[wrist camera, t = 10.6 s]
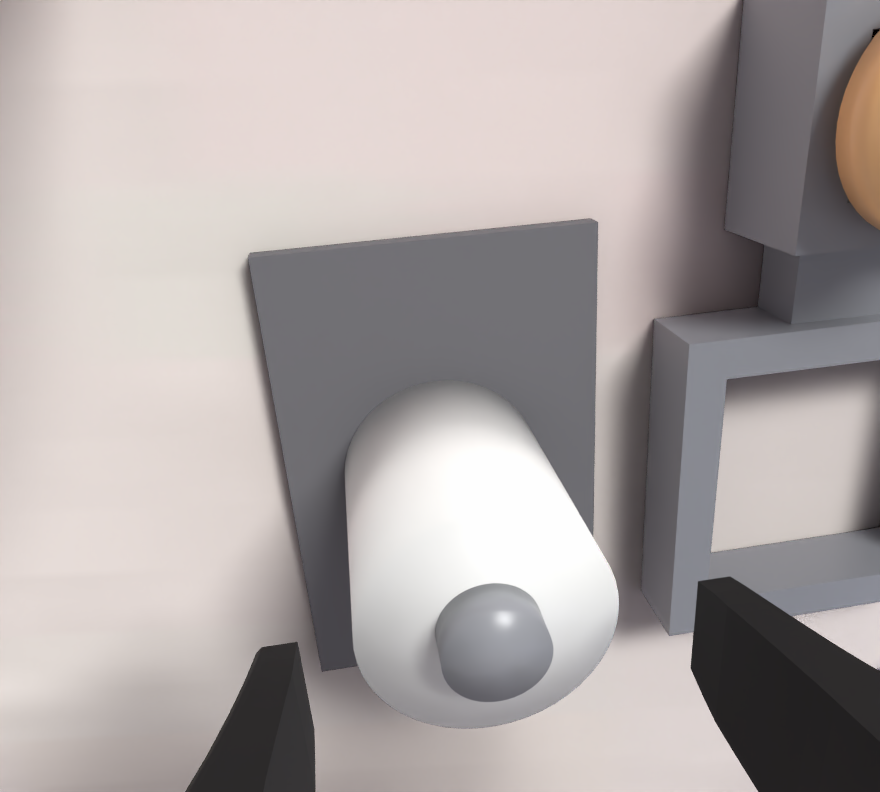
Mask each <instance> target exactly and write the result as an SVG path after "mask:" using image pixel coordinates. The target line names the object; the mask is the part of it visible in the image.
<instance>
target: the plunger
mask: <svg viewBox="0 0 880 792" xmlns="http://www.w3.org/2000/svg"><path fill="white" fill-rule="evenodd" d="M835 144H836V161H837V167H838V173H839V177H840V180H841V183H842V186H843V189H844V191H845V193H846V195H847V197H848V199H849V201H850V203H851V204H852V205H853V207H854V208H855V210H856V211H857V212H858V213H859V214H860V215H861V216H862V217H863V218H864V219H865V220H866V221H867V222H868V223H870V224H871V225H872V226H874V227H875V228H877V229H879V230H880V31H879V32H878V33H877V34H876V35H875V36H874V38H873V39H872V41H871V42H870V44H869V45H868V47H867V48H866V50H865V51H864V53H863V54H862V56H861V58H860V60H859V62H858V63H857V65H856V67H855V69H854V71H853V73H852V75H851V78H850V80H849V82H848V85H847V87H846V90H845V93H844V96H843V100H842V103H841V106H840V111H839V116H838V121H837V129H836V141H835Z"/></svg>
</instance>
